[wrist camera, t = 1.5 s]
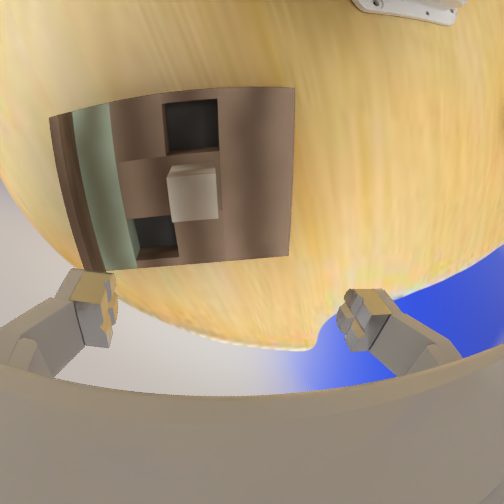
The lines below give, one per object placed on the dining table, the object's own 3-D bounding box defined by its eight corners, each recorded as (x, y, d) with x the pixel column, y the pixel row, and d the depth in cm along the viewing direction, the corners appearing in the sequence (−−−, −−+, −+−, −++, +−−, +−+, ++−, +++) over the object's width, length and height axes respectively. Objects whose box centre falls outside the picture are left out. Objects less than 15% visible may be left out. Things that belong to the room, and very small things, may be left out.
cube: (214, 161, 26) (215, 173, 22) (217, 201, 28) (218, 218, 24) (172, 165, 25) (166, 177, 22) (176, 204, 27) (172, 222, 24)
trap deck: (286, 88, 25) (305, 87, 20) (282, 242, 35) (295, 271, 30) (76, 111, 23) (48, 118, 18) (105, 257, 32) (91, 287, 27)
